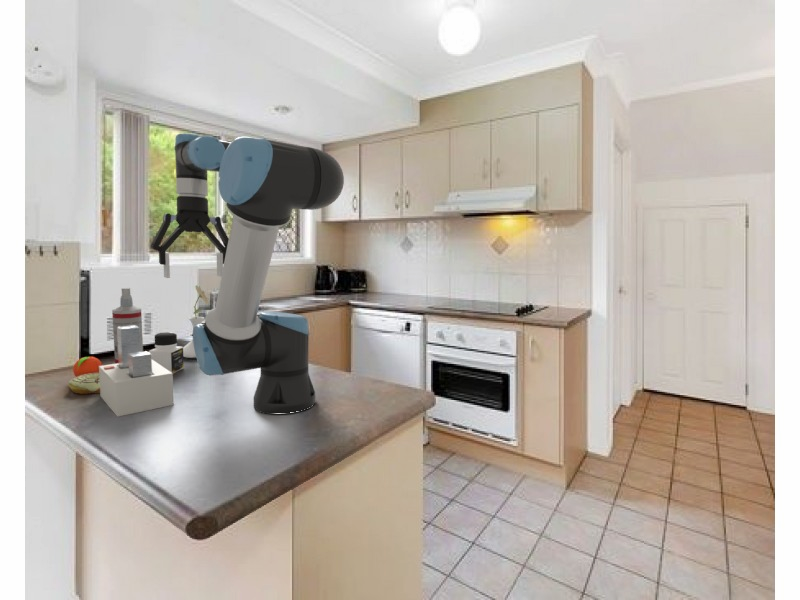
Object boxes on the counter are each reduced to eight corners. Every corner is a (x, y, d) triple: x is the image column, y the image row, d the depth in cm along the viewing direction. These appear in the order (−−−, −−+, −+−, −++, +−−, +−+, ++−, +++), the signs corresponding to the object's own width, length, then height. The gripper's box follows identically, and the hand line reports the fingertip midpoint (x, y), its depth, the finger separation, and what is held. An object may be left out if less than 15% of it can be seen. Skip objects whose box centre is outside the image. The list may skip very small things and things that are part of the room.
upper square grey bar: (141, 393, 116) (138, 327, 114) (124, 397, 113) (120, 329, 111) (137, 390, 119) (134, 325, 117) (120, 393, 116) (116, 326, 114)
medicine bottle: (172, 374, 135) (170, 335, 133) (149, 373, 135) (147, 334, 133) (184, 368, 142) (182, 331, 140) (162, 367, 142) (160, 330, 141)
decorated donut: (97, 397, 115) (96, 383, 114) (59, 394, 116) (58, 380, 115) (126, 384, 125) (125, 371, 124) (91, 382, 126) (90, 369, 126)
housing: (152, 387, 123) (150, 357, 122) (173, 404, 110) (172, 371, 109) (100, 396, 115) (98, 364, 114) (117, 416, 102) (115, 381, 101)
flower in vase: (212, 359, 153) (210, 287, 150) (176, 361, 150) (173, 287, 147) (217, 351, 165) (216, 283, 162) (184, 352, 162) (181, 283, 159)
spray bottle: (125, 369, 138) (121, 289, 135) (110, 366, 142) (105, 288, 139) (148, 364, 145) (145, 287, 142) (133, 361, 149) (130, 286, 146)
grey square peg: (153, 406, 109) (151, 354, 107) (134, 410, 106) (132, 356, 104) (148, 401, 112) (146, 351, 110) (130, 405, 109) (127, 353, 107)
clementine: (91, 385, 123) (90, 360, 122) (65, 385, 123) (63, 360, 122) (108, 377, 131) (107, 353, 130) (83, 376, 130) (82, 353, 130)
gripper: (234, 201, 129) (235, 274, 131) (135, 192, 112) (138, 276, 115) (244, 200, 123) (245, 276, 126) (142, 191, 107) (145, 279, 110)
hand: (194, 276), depth 120 cm, fingers open, 13 cm apart
